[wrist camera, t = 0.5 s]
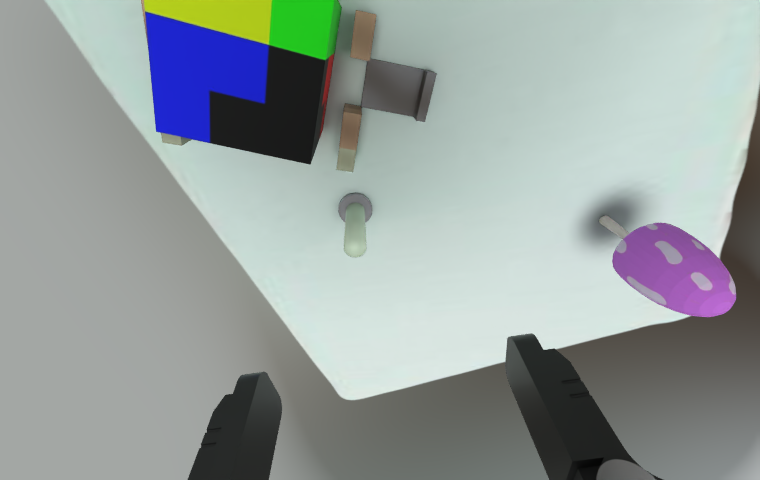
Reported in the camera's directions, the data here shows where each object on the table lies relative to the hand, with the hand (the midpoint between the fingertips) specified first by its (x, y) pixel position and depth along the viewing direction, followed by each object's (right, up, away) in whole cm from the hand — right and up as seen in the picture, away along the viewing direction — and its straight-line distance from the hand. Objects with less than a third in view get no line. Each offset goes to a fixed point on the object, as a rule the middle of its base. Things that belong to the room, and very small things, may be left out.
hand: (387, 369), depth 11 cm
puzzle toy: (-9, +20, +18) cm, 28 cm away
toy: (+26, +7, +28) cm, 39 cm away
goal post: (-3, +8, +25) cm, 27 cm away
